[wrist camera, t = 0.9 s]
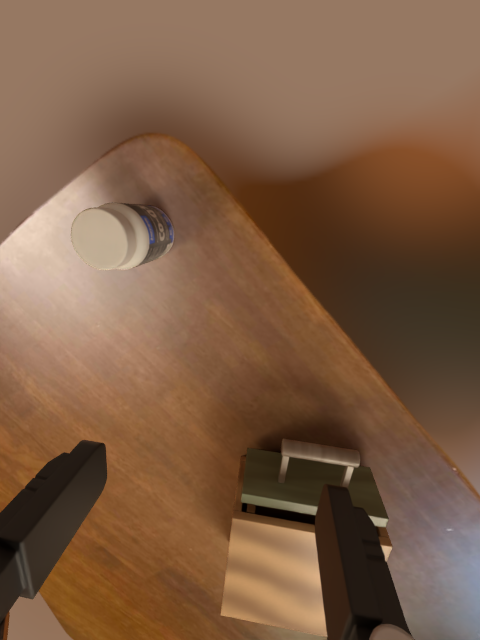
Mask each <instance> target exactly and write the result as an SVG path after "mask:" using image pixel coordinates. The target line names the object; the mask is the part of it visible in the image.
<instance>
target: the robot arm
mask: <svg viewBox="0 0 480 640" xmlns="http://www.w3.org/2000/svg"><path fill="white" fill-rule="evenodd" d="M106 479H107V463H106V447H105V444H104V443H99V442H93V441H88V440H82V441H81V442H80V443H79V444H78V445H77V446H76V447H75V448H74V449H73V450H72V451H71V452H70V454H69V453H62V454H61V455H59V456H58V457H56V458H54V459H53V460H51V461H50V462H48V463H47V464H46V465H45V466H44V467H43V468H42V469H41V470H40V472H39V473H38V474H37V475H36V477H35V478H33V479H32V480H31V481H30V482H29V483H28V484H27V485H26V486H25V489H22V491H21V492H20V493H19V494H18V495H17V496H16V497H15V498H14V499H13V500H12V501H11V502H10V503H9V504H8V505H7V506H6V507H5V509H4V510H3V511H2V512H1V513H0V640H7V635H8V625H9V610H10V609H11V607H12V606H13V604H14V603H15V602H16V600H17V599H18V597H19V596H20V597H25V598H29V599H33V598H34V597H35V595H36V594H37V592H38V591H39V589H40V588H41V586H42V584H43V583H44V581H45V580H46V578H47V577H48V575H49V574H50V572H51V570H52V569H53V567H54V566H55V564H56V563H57V561H58V560H59V558H60V557H61V555H62V553H63V552H64V550H65V549H66V547H67V546H68V544H69V543H70V541H71V539H72V538H73V536H74V535H75V533H76V532H77V530H78V529H79V527H80V525H81V524H82V522H83V521H84V519H85V518H86V516H87V515H88V513H89V512H90V510H91V508H92V507H93V505H94V504H95V502H96V501H97V499H98V498H99V496H100V494H101V493H102V491H103V489H104V486H105V483H106ZM315 539H316V547H317V555H318V564H319V572H320V580H321V589H322V597H323V605H324V614H325V622H326V630H327V639H328V640H415V639H414V638H413V637H412V635H411V633H410V631H409V629H408V626H407V624H406V621H405V618H404V615H403V612H402V608H401V605H400V602H399V599H398V596H397V593H396V590H395V587H394V583H393V580H392V577H391V574H390V571H389V568H388V565H387V562H386V561H385V555H384V552H383V549H382V546H381V545H380V540H379V537H378V533H377V530H376V527H375V524H374V523H373V521H372V520H371V518H370V517H369V516H368V514H367V513H366V511H365V510H364V508H360V507H355V506H353V504H352V500H351V497H350V493H349V490H348V488H347V487H342V486H336V485H330V484H324V486H323V489H322V493H321V497H320V501H319V504H318V508H317V512H316V517H315Z"/></svg>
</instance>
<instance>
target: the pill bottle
mask: <svg viewBox="0 0 480 640" xmlns="http://www.w3.org/2000/svg"><path fill="white" fill-rule="evenodd" d="M71 239H72V244H73V247H74V249H75V251H76V253H77V254H78V256H79V257H80V258H81V259H82V260H83V261H84V262H85V263H86V264H88V265H89V266H91V267H93V268H96V269H99V270H111V269H119V270H126V269H131V268H134V267H137V266H139V265H142V264H145V263H148V262H150V261H153V260H156V259H158V258H161V257H163V256H164V255H165V254H167V253H168V251H169V250H170V249H171V247H172V245H173V242H174V228H173V225H172V223H171V221H170V219H169V218H168V216H167V215H166V214H165V213H164V212H163V211H162V210H160V209H159V208H157V207H154V206H150V205H138V204H123V203H107V204H104V205H101V206H99V207H98V208H89V209H86V210H84V211H82V212H81V213H79V214H78V215H77V217H76V218H75V220H74V221H73V224H72V228H71Z"/></svg>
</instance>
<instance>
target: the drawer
mask: <svg viewBox="0 0 480 640" xmlns="http://www.w3.org/2000/svg"><path fill="white" fill-rule="evenodd" d="M359 465H360V454H359V451H358V450H353V449H347V448H341V447H334V446H328V445H322V444H315V443H309V442H303V441H296V440H290V439H283V440H282V445H281V453H277V452H270V451H264V450H258V449H252V448H247V456H246V464H245V472H244V480H243V488H242V496H241V502H242V503H246V509H245V513H251V514H256V515H262V516H268V517H273V518H279V519H284V520H290V521H296V522H301V523H307V524H312V525H315V517H316V512H317V508H318V504H319V501H320V497H321V493H322V489H323V486H324V484H330V485H336V486H342V487H347V488H348V490H349V493H350V497H351V500H352V504H353V506H355V507H360V508H364V510H365V511H366V513H367V514H368V516H369V517H370V518H371V520H372V521H373V523H374V524H375V526H378V527H384V528H385V527H386V525H387V522H388V520H389V518H388V515H387V513H386V510H385V507H384V505H383V502H382V499H381V496H380V494H379V491H378V488H377V485H376V483H375V480H374V477H373V474H372V472H371V469H370V468H369V467H363V466H359Z"/></svg>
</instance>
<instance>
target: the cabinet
mask: <svg viewBox="0 0 480 640" xmlns="http://www.w3.org/2000/svg"><path fill="white" fill-rule="evenodd" d="M245 464H246V457H245V456H241V461H240V468H239V475H238V482H237V489H236V495H235V502H234V509H233V516H232V524H231V532H230V541H229V549H228V557H227V566H226V574H225V583H224V591H223V599H222V608H221V615H223V616H228V617H233V618H237V619H242V620H247V621H252V622H257V623H262V624H266V625H271V626H276V627H281V628H286V629H291V630H295V631H300V632H305V633H310V634H315V635H320V636H324V637H327V630H326V622H325V614H324V605H323V597H322V589H321V580H320V572H319V564H318V555H317V547H316V539H315V525H312V524H307V523H301V522H296V521H290V520H284V519H279V518H273V517H268V516H262V515H256V514H251V513H245V509H246V503H242V502H241V496H242V488H243V480H244V472H245ZM375 527H376V530H377V533H378V537H379V540H380V545H381V546H382V549H383V552H384V555H385V561H386V562H387V559H388V557H389V554H390V552H391V550H392V544H391V541H390V538H389V535H388V532H387V530H386V527H385V528H384V527H378V526H375Z"/></svg>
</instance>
